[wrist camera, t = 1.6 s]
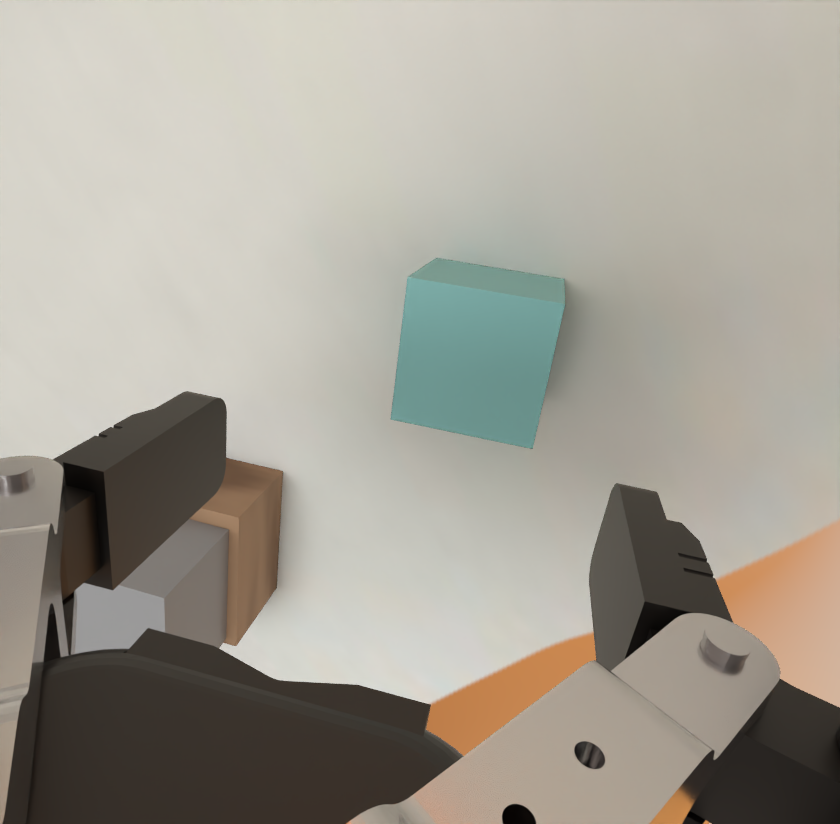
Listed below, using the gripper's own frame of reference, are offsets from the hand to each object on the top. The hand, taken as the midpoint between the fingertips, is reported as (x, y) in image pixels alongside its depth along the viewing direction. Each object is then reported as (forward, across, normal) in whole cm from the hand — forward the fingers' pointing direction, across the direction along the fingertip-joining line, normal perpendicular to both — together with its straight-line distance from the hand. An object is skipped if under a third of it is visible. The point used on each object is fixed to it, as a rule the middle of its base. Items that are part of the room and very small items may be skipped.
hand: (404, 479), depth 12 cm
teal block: (+13, 0, 0) cm, 13 cm away
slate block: (+9, +12, +12) cm, 19 cm away
